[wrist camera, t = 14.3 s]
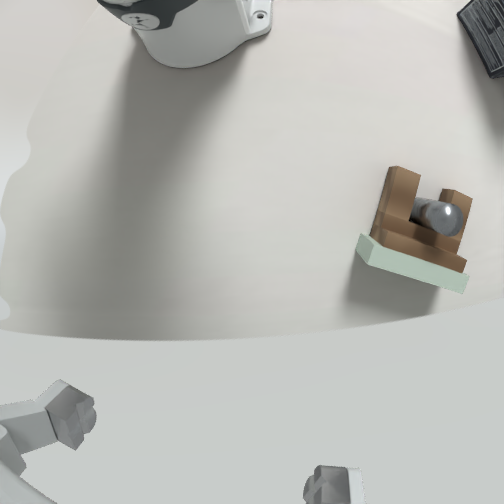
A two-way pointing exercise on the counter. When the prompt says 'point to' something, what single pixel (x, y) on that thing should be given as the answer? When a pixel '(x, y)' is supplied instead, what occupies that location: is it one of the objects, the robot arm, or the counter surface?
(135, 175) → the counter surface
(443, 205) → the dowel
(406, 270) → the wall
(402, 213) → the block
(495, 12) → the small box
